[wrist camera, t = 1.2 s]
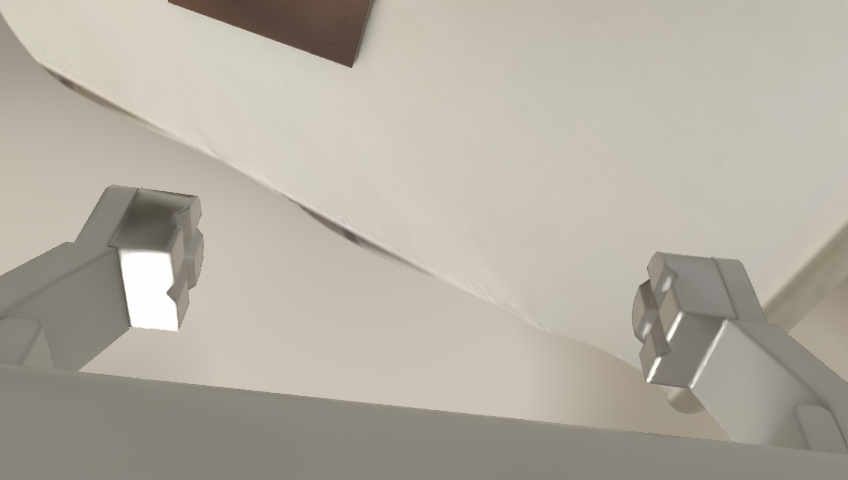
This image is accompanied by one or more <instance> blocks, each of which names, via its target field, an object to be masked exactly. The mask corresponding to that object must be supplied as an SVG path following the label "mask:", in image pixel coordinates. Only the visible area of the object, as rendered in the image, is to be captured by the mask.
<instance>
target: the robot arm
mask: <svg viewBox="0 0 848 480" xmlns="http://www.w3.org/2000/svg"><path fill="white" fill-rule="evenodd" d="M201 215H202V213H201V204H200V199H199V198H198V197H197V196H193V195H186V194H179V193H172V192H165V191H157V190H150V189H144V188H141V189H139V188H134V187H127V186H120V185H111V186H109V187H107V188H106V189H105V191H104V192H103V194H102V196H101V198H100V199H99V201H98V203H97V204H96V206H95V208H94V210H93V211H92V213H91V215H90V216H89V218H88V220H87V222H86V223H85V225H84V227H83V229H82V230H81V232H80V234H79V235H78V237H77V239H76V241H75V242H74V243H72V242H65V243H63V244H61V245H59V246H57V247H55V248H53V249H51V250H49V251H47V252H46V253H44V254H42V255H40V256H38V257H36V258H34V259H32V260H30V261H28V262H26V263H24V264H22V265H21V266H19V267H17V268H15V269H13V270H11V271H9V272H7V273H5V274H3V275H1V276H0V480H848V383H847V382H846V381H845V380H844V379H842V378H841V377H840V376H839V375H837V374H836V373H835V372H834V371H832V370H831V369H830V368H829V367H828V366H826V365H825V364H824V363H823V362H821V361H820V360H819V359H818V358H816V357H815V356H814V355H813V354H811V353H810V352H809V351H808V350H806V349H805V348H804V347H803V346H802V345H801V344H799V343H798V342H797V341H796V340H794V339H793V338H792V337H791V336H789V335H788V334H787V333H786V332H785V331H783V330H782V329H781V328H780V327H778V326H777V325H776V324H768V322H767V320H766V317H765V315H764V313H763V310H762V308H761V306H760V303H759V301H758V299H757V296H756V294H755V291H754V289H753V287H752V284H751V282H750V280H749V277H748V275H747V273H746V270H745V268H744V265H743V264H742V263H741V262H740V261H739V260H734V259H724V258H714V257H711V258H707V257H698V256H689V255H681V254H672V253H663V252H656V253H655V254H654V255H653V256H652V258H651V260H650V262H649V264H648V267H647V270H648V274H649V278H650V279H649V280H647V281H646V282H644V283H643V284H641V285H640V286H639V288H638V291H637V293H636V296H635V299H634V304H633V311H632V324H633V329H634V334H635V336H636V337H637V338H638V339H639V340H640V341H641V342H642V343H643V347H642V349H641V351H640V353H639V356H640V360H641V364H642V369H643V373H644V377H645V381H646V383H652V384H659V385H666V386H673V387H681V388H688V389H692V390H691V391H692V393H693V394H694V395H695V396H696V397H697V399H698V400H699V401H700V402H701V403H702V405H703V406H704V407H705V408H706V409H707V411H708V412H709V413H710V414H711V415H712V416H713V418H714V419H715V420H716V421H717V422H718V424H719V425H720V426H721V427H722V428H723V430H724V431H725V432H726V433H727V434H728V436H729V437H730V438H731V439H732V440H733V442H729V441H719V440H709V439H700V438H690V437H680V436H671V435H662V434H652V433H643V432H634V431H624V430H615V429H606V428H597V427H587V426H579V425H569V424H560V423H550V422H542V421H531V420H523V419H514V418H505V417H496V416H486V415H476V414H467V413H458V412H448V411H439V410H429V409H419V408H411V407H401V406H392V405H383V404H373V403H364V402H354V401H344V400H335V399H326V398H317V397H316V398H315V397H307V396H298V395H289V394H280V393H270V392H261V391H251V390H242V389H233V388H224V387H214V386H205V385H196V384H187V383H177V382H168V381H159V380H150V379H140V378H131V377H122V376H112V375H102V374H94V373H84V372H77V371H78V370H79V369H81V368H82V367H83V366H84V365H86V364H87V363H88V362H89V361H91V360H92V359H93V358H94V357H96V356H97V355H98V354H99V353H101V352H102V351H103V350H104V349H105V348H107V347H108V346H109V345H110V344H112V343H113V342H114V341H115V340H117V339H118V338H119V337H120V336H122V335H123V334H124V333H125V332H127V331H128V330H129V327H139V328H151V329H163V330H175V331H179V329H180V327H181V324H182V321H183V319H184V316H185V314H186V311H187V308H188V305H189V294H188V290H190V289H191V288H193V287H194V286H196V284H197V281H198V278H199V275H200V271H201V266H202V261H203V249H204V242H203V234H202V233H201V232H200V231H199V229H198V228H197V225H198V223H199V220H200V218H201Z"/></svg>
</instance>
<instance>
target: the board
mask: <svg viewBox="0 0 848 480" xmlns="http://www.w3.org/2000/svg"><path fill="white" fill-rule="evenodd" d="M372 1H373V0H168V2H169V3H172V4H174V5H177V6H180V7H183V8H186V9H188V10H191V11H194V12H197V13H200V14H202V15H205V16H208V17H211V18H213V19H216V20H219V21H222V22H225V23H227V24H230V25H233V26H236V27H239V28H241V29H244V30H247V31H250V32H253V33H255V34H258V35H261V36H264V37H266V38H269V39H272V40H275V41H278V42H280V43H283V44H286V45H289V46H292V47H294V48H297V49H300V50H303V51H306V52H308V53H311V54H314V55H317V56H319V57H322V58H325V59H328V60H331V61H333V62H336V63H339V64H342V65H345V66H347V67H350V68H352V67H353V65H354V63H355V61H356V58H357V54H358V50H359V47H360V43H361V40H362V36H363V33H364V29H365V26H366V22H367V18H368V15H369V11H370V8H371V4H372Z"/></svg>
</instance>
